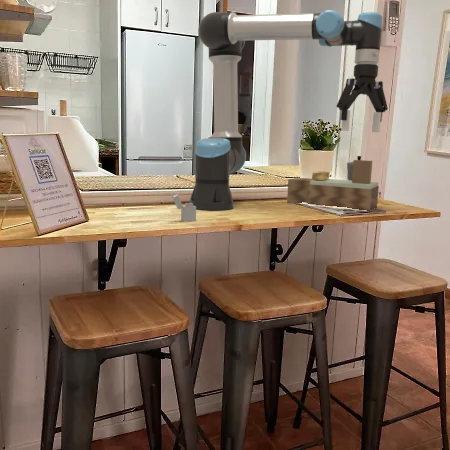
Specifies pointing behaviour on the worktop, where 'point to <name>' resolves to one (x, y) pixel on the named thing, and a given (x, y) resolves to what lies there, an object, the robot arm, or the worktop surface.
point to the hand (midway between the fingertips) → (360, 131)
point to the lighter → (185, 209)
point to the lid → (353, 177)
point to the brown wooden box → (331, 195)
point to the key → (320, 175)
